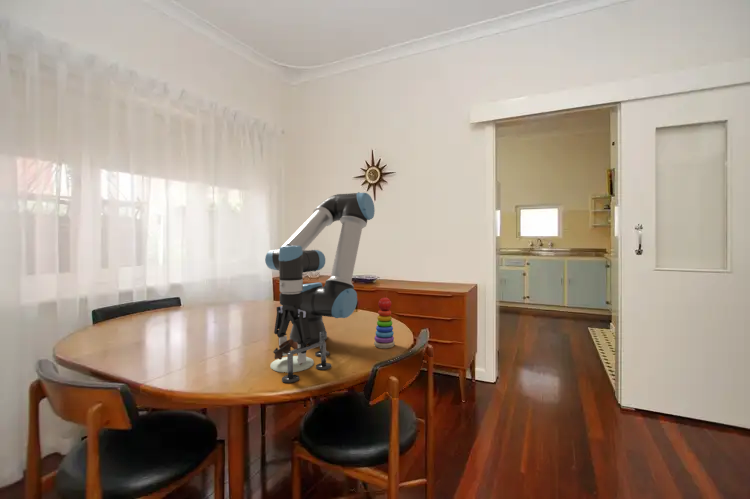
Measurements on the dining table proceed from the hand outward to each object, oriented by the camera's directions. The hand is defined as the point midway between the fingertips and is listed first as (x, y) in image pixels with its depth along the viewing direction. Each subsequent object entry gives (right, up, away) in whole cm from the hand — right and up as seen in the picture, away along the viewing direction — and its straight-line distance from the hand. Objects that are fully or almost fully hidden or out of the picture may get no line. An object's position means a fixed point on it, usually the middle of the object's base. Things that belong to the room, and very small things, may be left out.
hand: (292, 359), depth 118 cm
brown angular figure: (0, -1, 0) cm, 1 cm away
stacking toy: (+31, -1, +19) cm, 37 cm away
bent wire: (+5, -2, -2) cm, 6 cm away
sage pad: (0, -2, 0) cm, 2 cm away
